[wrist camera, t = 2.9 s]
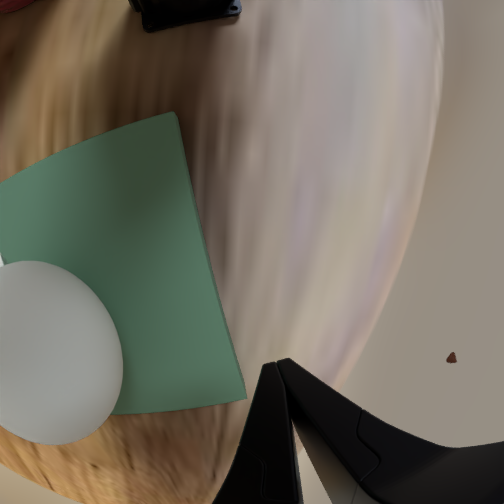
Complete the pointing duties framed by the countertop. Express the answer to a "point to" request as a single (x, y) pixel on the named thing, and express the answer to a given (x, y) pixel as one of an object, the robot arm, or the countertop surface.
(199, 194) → the countertop surface
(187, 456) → the countertop surface
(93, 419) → the ball
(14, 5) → the canister
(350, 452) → the robot arm
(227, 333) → the putting deck
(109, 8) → the countertop surface
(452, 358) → the poop emoji
